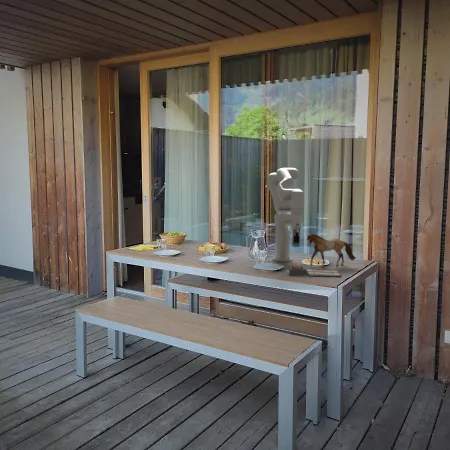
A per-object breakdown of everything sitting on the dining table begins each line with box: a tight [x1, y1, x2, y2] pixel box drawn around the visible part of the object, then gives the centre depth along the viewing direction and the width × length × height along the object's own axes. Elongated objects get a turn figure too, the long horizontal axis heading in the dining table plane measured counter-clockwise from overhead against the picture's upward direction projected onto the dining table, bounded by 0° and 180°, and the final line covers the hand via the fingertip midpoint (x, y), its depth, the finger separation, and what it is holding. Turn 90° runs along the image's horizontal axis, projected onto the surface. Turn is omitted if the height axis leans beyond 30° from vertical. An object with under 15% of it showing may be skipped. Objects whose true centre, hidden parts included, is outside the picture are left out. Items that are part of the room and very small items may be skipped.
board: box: [306, 268, 342, 278], centre depth 268 cm, size 15×18×1 cm
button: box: [292, 263, 303, 269], centre depth 268 cm, size 5×5×2 cm
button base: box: [288, 265, 308, 276], centre depth 268 cm, size 9×9×4 cm
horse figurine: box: [306, 233, 357, 269], centre depth 286 cm, size 31×8×21 cm, turn 96°
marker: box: [291, 230, 301, 248], centre depth 277 cm, size 5×5×12 cm
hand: (296, 241), depth 278 cm, fingers closed on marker, 4 cm apart
